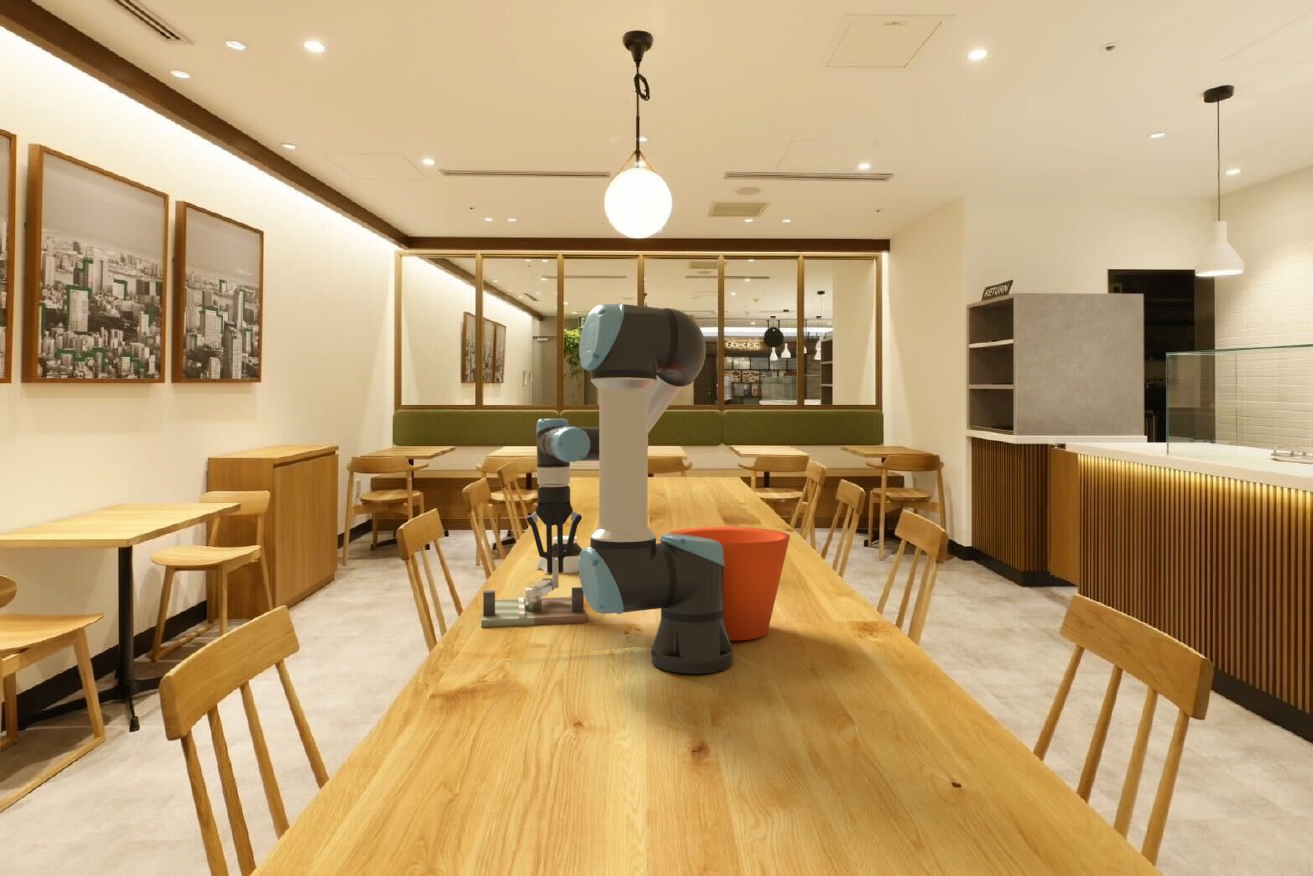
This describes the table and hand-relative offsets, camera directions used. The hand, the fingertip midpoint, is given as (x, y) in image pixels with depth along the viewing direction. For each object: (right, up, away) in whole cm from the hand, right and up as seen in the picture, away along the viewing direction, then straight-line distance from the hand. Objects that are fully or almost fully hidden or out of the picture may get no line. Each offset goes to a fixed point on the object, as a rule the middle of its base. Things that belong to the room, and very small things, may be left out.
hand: (555, 586), depth 173 cm
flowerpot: (+38, -5, -18) cm, 43 cm away
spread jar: (-4, -5, +35) cm, 36 cm away
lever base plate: (-4, -5, -5) cm, 9 cm away
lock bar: (-3, -3, -3) cm, 6 cm away
